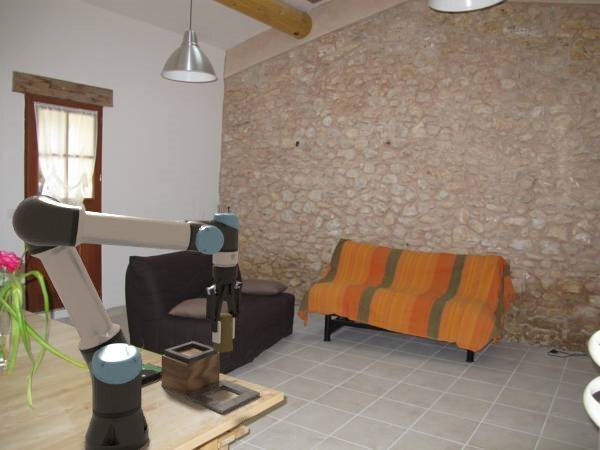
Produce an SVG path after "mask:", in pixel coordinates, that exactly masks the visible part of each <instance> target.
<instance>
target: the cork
mask: <svg viewBox="0 0 600 450" xmlns="http://www.w3.org/2000/svg"><path fill="white" fill-rule="evenodd" d="M219 321H220V322H221V341H220V343H219V344H218V343H215V342H213V350H214V351H217V352H219V353H229V352H231V351H233V350H234V344H233V339H232V333H231V323H232V321H233V318H232V315H231V314H229V312H221V313H220V317H219Z"/></svg>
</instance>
